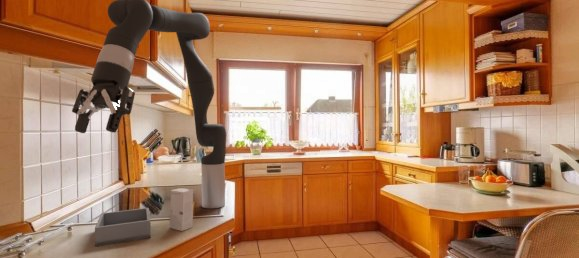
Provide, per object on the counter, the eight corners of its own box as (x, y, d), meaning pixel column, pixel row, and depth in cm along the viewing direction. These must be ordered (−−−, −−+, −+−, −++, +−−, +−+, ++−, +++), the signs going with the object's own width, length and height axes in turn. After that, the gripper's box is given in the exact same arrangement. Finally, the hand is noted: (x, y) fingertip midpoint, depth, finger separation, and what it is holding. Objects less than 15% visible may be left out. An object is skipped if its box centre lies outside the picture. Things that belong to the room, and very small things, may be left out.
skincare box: (169, 228, 94) (168, 190, 94) (180, 224, 98) (180, 187, 98) (182, 231, 91) (182, 192, 91) (194, 227, 95) (193, 189, 95)
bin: (101, 229, 94) (101, 213, 94) (148, 222, 100) (148, 207, 100) (95, 246, 80) (94, 227, 80) (150, 237, 86) (150, 220, 86)
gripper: (149, 74, 73) (133, 136, 68) (102, 78, 77) (84, 137, 72) (127, 57, 67) (107, 125, 61) (77, 62, 70) (54, 126, 65)
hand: (94, 131), depth 66 cm, fingers open, 8 cm apart
